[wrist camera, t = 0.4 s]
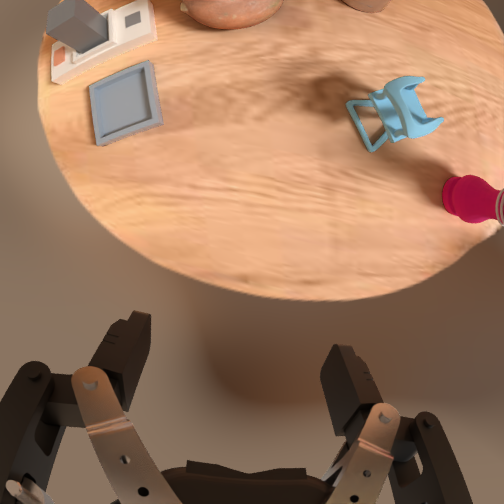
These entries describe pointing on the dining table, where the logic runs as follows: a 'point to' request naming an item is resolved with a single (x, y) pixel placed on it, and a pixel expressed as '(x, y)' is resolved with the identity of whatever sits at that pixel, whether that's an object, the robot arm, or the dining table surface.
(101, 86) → the tray
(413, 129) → the chair
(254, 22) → the ceramic jug
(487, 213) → the pepper mill
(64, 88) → the dining table surface
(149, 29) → the white rectangular base
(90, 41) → the block
